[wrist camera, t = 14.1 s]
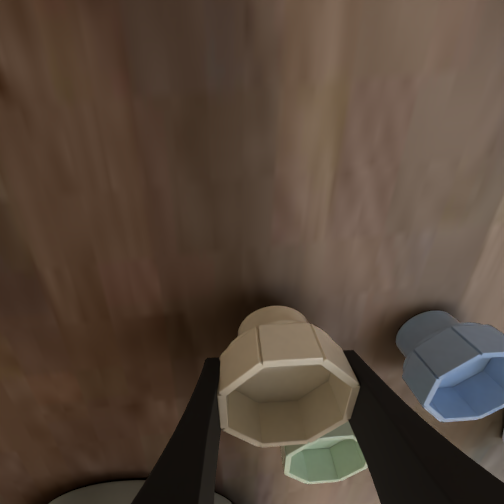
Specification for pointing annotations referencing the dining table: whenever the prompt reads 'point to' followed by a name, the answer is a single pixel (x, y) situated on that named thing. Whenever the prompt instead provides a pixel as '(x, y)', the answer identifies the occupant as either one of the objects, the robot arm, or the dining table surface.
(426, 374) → the blue bowl
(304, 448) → the celadon bowl
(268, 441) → the ivory bowl
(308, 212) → the dining table surface
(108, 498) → the cake pan
